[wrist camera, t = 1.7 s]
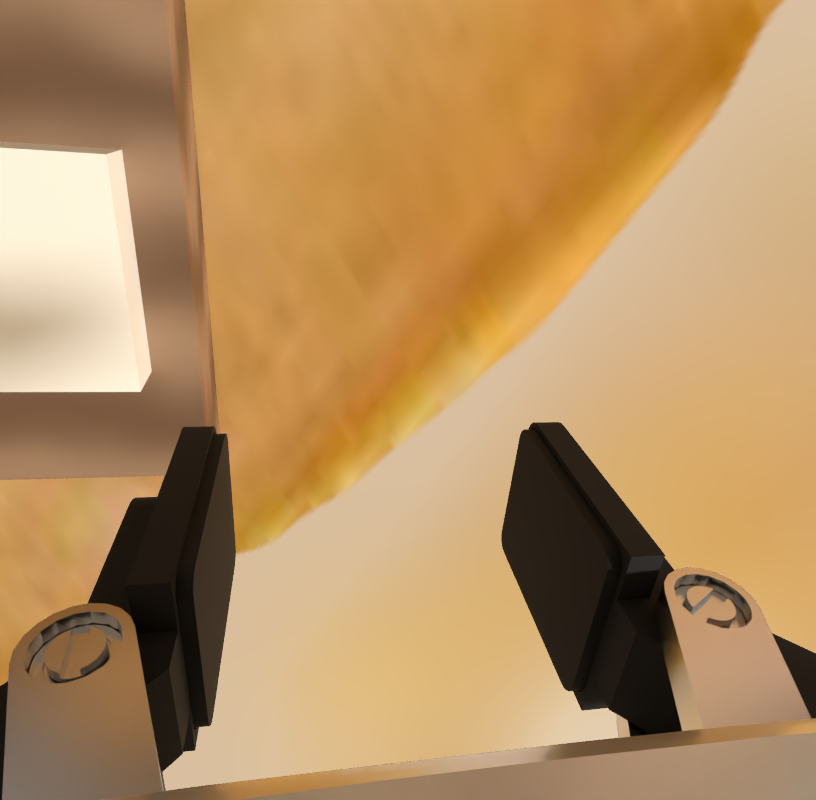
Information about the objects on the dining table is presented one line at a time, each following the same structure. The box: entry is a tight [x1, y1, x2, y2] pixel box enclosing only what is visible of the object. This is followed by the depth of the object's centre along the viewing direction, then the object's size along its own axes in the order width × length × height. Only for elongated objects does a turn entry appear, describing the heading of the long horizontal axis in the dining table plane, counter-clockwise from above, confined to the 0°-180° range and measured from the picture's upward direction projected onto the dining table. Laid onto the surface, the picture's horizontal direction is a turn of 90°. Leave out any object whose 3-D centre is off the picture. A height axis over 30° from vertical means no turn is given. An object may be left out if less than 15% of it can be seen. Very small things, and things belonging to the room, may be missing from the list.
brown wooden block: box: [0, 0, 219, 480], centre depth 25 cm, size 20×10×4 cm, turn 176°
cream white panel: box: [0, 141, 152, 392], centre depth 22 cm, size 9×6×2 cm, turn 176°
